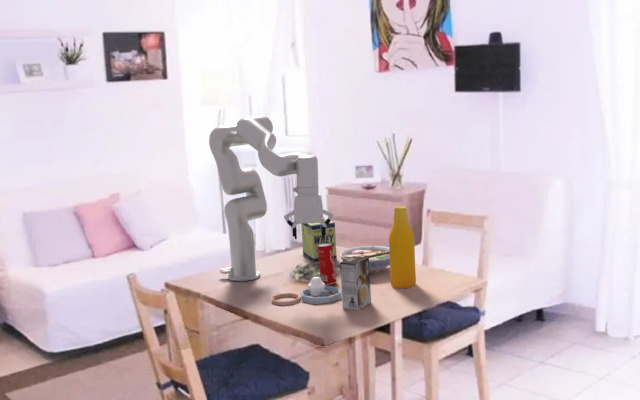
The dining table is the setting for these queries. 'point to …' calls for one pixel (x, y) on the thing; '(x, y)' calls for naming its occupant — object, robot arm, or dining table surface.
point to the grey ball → (324, 293)
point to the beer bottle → (402, 251)
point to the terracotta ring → (285, 296)
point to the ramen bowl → (370, 256)
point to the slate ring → (321, 299)
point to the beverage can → (326, 263)
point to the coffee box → (355, 282)
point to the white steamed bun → (316, 286)
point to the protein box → (317, 239)
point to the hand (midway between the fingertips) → (309, 237)
